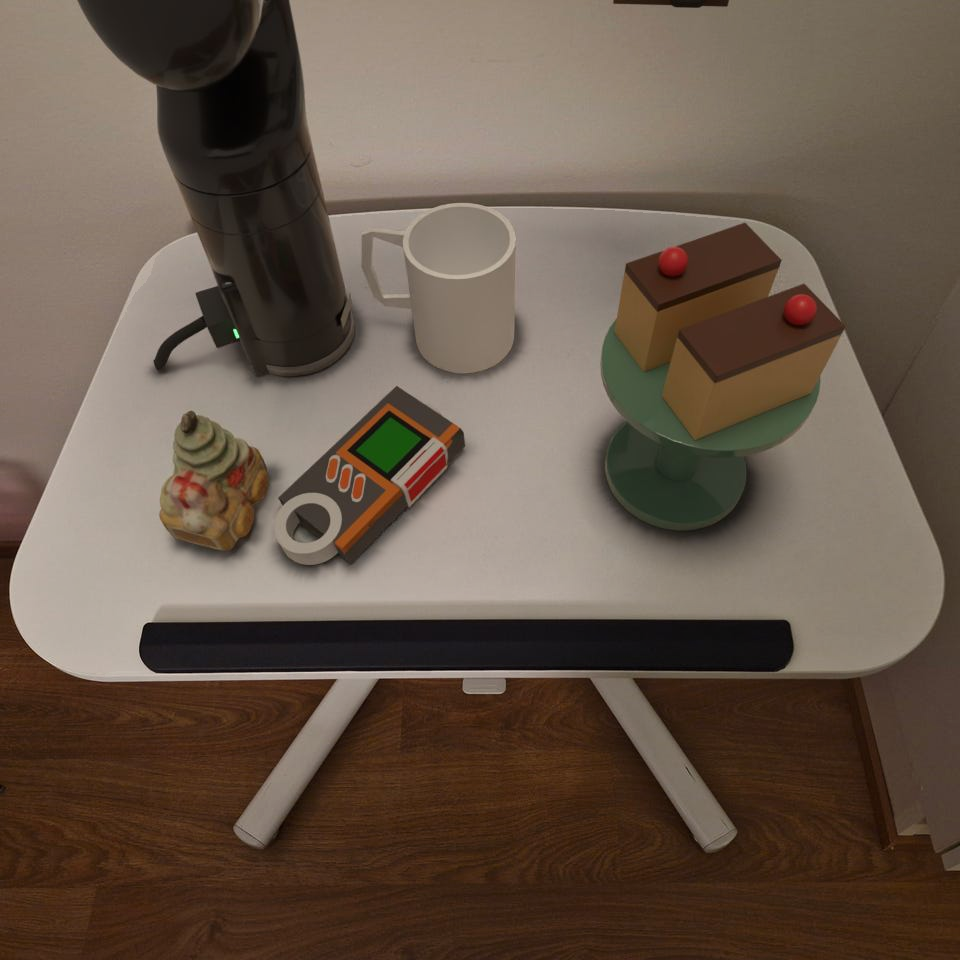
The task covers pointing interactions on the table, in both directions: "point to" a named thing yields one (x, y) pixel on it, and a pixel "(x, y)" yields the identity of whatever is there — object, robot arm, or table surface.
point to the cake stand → (680, 447)
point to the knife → (712, 0)
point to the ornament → (211, 485)
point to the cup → (455, 284)
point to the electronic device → (367, 479)
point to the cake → (723, 329)
